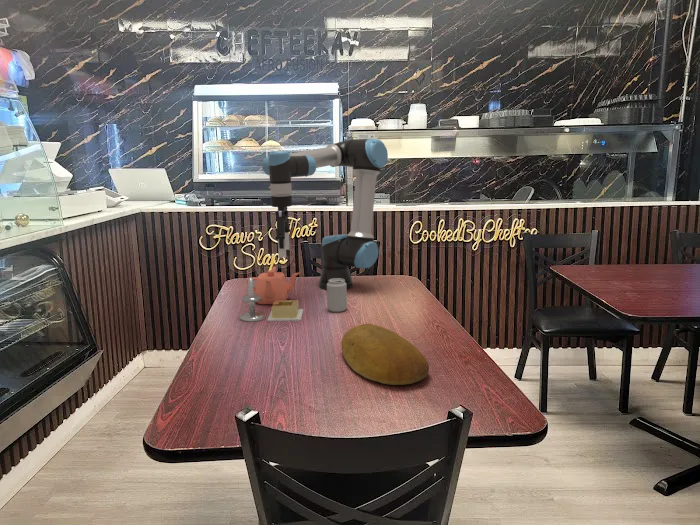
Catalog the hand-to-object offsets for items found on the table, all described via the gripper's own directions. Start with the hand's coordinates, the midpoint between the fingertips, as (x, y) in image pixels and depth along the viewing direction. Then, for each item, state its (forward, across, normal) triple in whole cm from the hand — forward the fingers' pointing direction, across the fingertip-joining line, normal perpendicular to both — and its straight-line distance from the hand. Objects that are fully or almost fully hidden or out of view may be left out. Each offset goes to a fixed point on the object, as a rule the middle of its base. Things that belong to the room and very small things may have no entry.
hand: (284, 253), depth 193 cm
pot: (+24, -19, -7) cm, 31 cm away
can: (+24, -3, +19) cm, 30 cm away
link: (+23, +2, 0) cm, 23 cm away
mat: (+23, +2, 0) cm, 23 cm away
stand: (+23, +4, -12) cm, 26 cm away
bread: (+23, +49, +31) cm, 62 cm away
